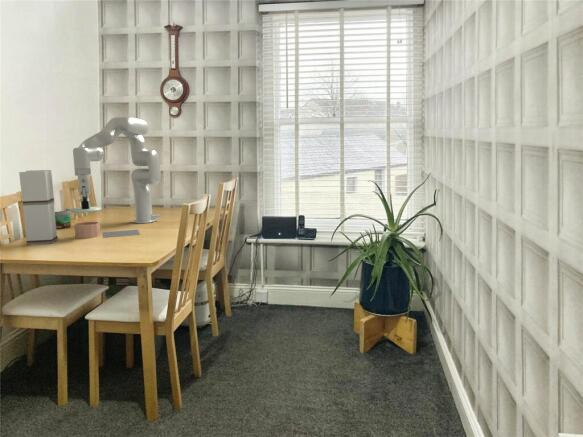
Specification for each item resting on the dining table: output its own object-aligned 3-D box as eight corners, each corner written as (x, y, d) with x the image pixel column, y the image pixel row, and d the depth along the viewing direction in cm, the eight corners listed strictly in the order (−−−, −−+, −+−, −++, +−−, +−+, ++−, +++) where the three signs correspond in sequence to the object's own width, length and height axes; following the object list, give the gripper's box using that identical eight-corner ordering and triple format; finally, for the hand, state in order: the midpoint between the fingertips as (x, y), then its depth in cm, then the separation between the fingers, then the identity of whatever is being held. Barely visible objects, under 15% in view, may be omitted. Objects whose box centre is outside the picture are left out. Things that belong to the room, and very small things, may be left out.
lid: (101, 207, 277) (100, 196, 277) (101, 211, 264) (100, 199, 263) (70, 209, 272) (69, 198, 271) (69, 213, 258) (68, 201, 257)
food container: (64, 229, 293) (62, 212, 291) (54, 229, 294) (52, 212, 293) (77, 225, 305) (76, 208, 303) (68, 225, 306) (66, 208, 304)
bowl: (100, 233, 278) (99, 220, 277) (101, 237, 267) (99, 224, 266) (76, 235, 274) (74, 222, 273) (75, 240, 263) (74, 226, 262)
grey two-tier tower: (57, 239, 266) (51, 169, 260) (52, 243, 255) (44, 171, 250) (33, 240, 264) (26, 170, 258) (26, 245, 253) (19, 172, 248)
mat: (137, 230, 285) (137, 229, 285) (140, 235, 270) (140, 234, 270) (102, 233, 279) (102, 232, 279) (103, 238, 264) (103, 237, 264)
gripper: (90, 172, 258) (93, 209, 261) (90, 171, 274) (93, 206, 277) (74, 173, 256) (77, 210, 259) (75, 171, 271) (78, 206, 274)
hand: (85, 208), depth 268 cm, fingers closed on lid, 4 cm apart
